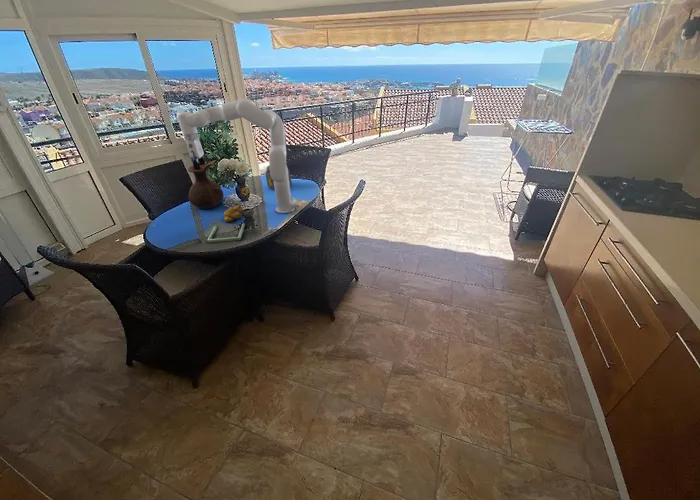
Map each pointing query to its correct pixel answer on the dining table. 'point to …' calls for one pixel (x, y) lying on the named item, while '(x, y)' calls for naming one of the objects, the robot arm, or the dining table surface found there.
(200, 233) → the dining table surface
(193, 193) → the jug
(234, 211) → the bread roll
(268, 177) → the decorative lamp
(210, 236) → the frame
